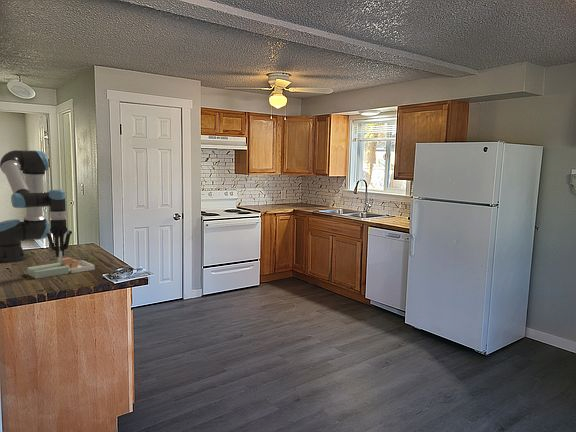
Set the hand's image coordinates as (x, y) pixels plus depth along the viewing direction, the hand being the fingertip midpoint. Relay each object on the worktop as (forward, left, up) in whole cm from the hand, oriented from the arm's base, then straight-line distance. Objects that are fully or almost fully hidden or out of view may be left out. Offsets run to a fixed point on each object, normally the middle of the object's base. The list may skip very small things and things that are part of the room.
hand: (60, 262), depth 232 cm
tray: (0, +9, -5) cm, 10 cm away
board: (0, -6, -5) cm, 8 cm away
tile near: (0, +3, -1) cm, 3 cm away
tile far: (0, +5, -2) cm, 6 cm away
